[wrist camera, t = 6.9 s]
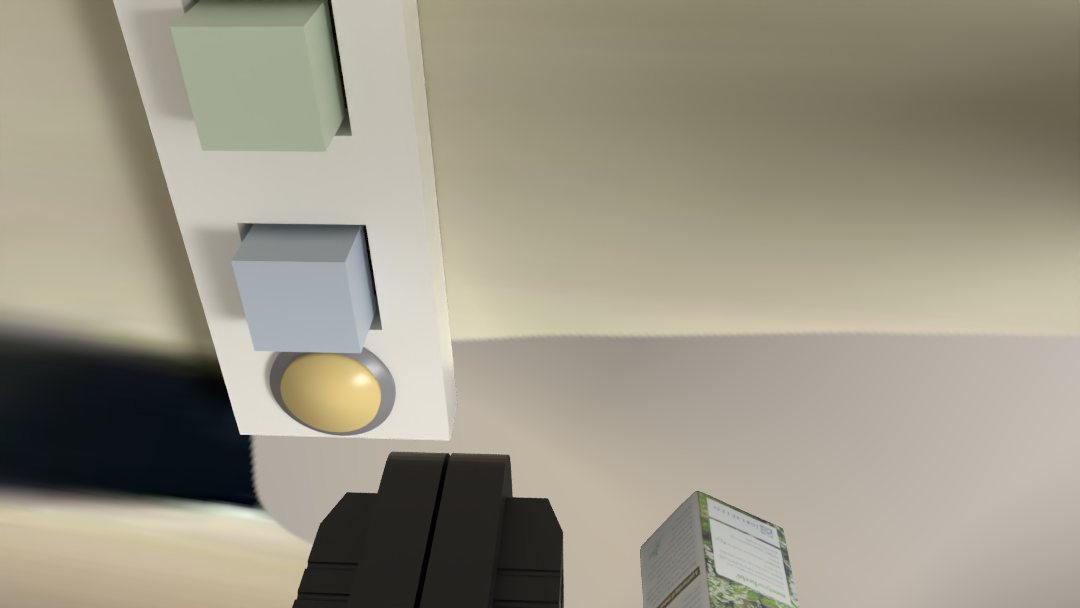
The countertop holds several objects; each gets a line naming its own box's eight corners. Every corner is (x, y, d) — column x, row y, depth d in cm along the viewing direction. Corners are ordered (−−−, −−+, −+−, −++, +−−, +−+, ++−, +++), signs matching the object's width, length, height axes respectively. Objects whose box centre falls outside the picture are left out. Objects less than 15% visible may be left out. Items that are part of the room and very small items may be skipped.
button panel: (372, -440, 26) (346, -450, 23) (457, 404, 45) (447, 451, 42) (33, -428, 27) (-30, -436, 24) (256, 399, 45) (235, 444, 43)
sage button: (326, -3, 32) (303, 26, 29) (345, 115, 34) (325, 151, 32) (203, -3, 32) (169, 26, 30) (231, 114, 35) (202, 150, 32)
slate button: (362, 221, 37) (344, 262, 35) (376, 309, 40) (360, 353, 37) (255, 220, 37) (231, 260, 35) (276, 307, 40) (254, 351, 37)
